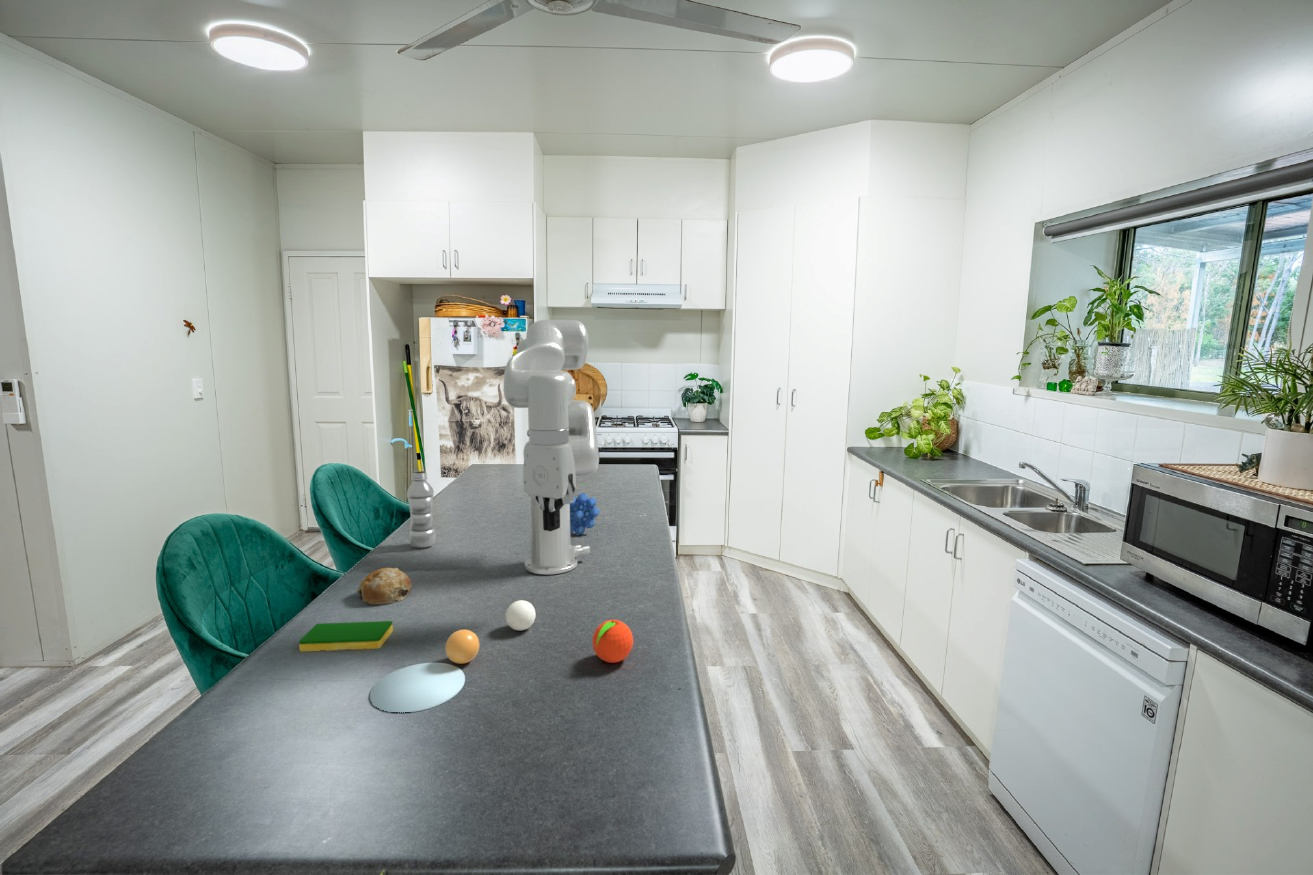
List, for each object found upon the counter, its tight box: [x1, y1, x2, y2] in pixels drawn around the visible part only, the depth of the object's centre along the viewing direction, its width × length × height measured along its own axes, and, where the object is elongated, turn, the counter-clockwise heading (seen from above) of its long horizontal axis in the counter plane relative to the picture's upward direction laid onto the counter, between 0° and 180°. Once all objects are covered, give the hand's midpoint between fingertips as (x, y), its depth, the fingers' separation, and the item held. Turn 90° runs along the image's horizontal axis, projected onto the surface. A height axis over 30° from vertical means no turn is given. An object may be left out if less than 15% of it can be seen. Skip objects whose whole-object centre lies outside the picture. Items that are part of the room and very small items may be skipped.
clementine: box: [592, 619, 634, 664], centre depth 105 cm, size 8×7×7 cm
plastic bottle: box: [406, 470, 437, 549], centre depth 162 cm, size 6×7×20 cm
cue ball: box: [505, 599, 536, 631], centre depth 117 cm, size 6×6×6 cm
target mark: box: [369, 662, 466, 714], centre depth 98 cm, size 14×14×1 cm
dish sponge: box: [298, 620, 394, 652], centre depth 113 cm, size 7×14×2 cm, turn 94°
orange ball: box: [445, 629, 480, 665], centre depth 105 cm, size 6×6×6 cm
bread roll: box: [356, 567, 412, 606], centre depth 132 cm, size 10×10×8 cm
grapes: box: [570, 492, 600, 536], centre depth 173 cm, size 12×7×12 cm, turn 100°
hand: (551, 528), depth 122 cm, fingers closed
